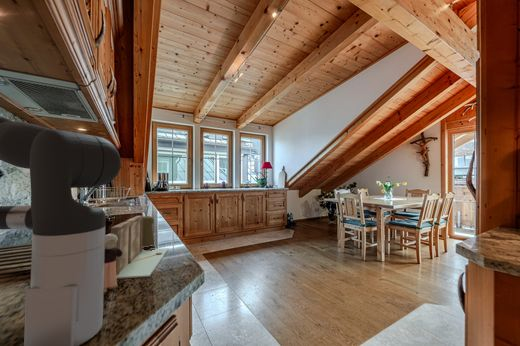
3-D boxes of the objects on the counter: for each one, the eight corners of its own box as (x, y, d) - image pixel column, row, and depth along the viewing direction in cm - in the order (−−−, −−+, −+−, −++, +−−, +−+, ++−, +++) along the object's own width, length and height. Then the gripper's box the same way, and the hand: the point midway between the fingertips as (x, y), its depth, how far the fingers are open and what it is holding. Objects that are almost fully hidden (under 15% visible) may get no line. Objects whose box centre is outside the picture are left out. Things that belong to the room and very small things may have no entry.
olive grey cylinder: (151, 242, 90) (152, 214, 90) (156, 245, 85) (157, 216, 86) (134, 245, 86) (135, 216, 86) (139, 249, 81) (140, 218, 82)
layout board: (149, 276, 59) (149, 274, 59) (100, 279, 57) (100, 277, 57) (168, 249, 81) (168, 247, 81) (134, 250, 79) (134, 249, 79)
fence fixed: (117, 275, 58) (118, 227, 59) (109, 276, 58) (110, 227, 58) (128, 264, 66) (130, 221, 66) (122, 264, 66) (123, 221, 66)
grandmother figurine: (100, 297, 48) (102, 238, 49) (86, 295, 49) (87, 237, 50) (128, 281, 56) (129, 230, 56) (115, 280, 57) (116, 229, 57)
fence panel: (129, 262, 66) (130, 221, 67) (122, 262, 66) (124, 221, 66) (141, 250, 77) (142, 215, 77) (136, 250, 77) (137, 215, 77)
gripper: (15, 208, 64) (84, 208, 67) (49, 202, 77) (106, 203, 80) (13, 235, 63) (83, 233, 67) (48, 224, 76) (105, 224, 80)
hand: (95, 217), depth 73 cm, fingers closed
